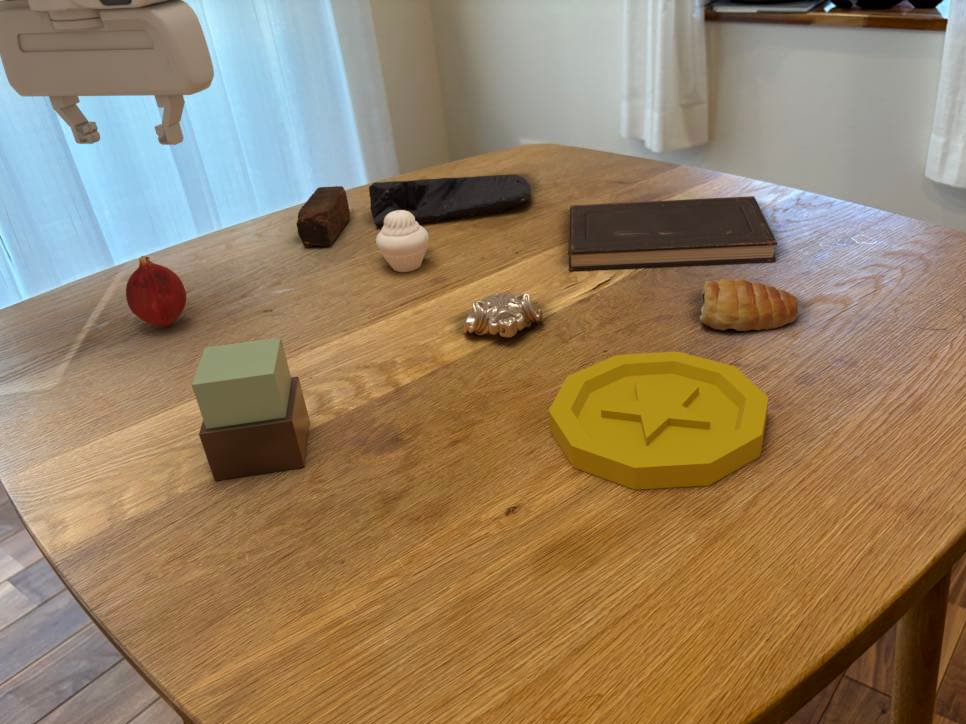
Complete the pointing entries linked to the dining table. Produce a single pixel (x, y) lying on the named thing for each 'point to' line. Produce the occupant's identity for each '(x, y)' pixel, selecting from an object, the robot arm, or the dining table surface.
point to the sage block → (242, 383)
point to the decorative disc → (659, 420)
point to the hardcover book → (669, 234)
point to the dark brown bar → (323, 216)
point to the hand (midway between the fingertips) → (130, 143)
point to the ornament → (501, 315)
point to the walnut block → (260, 442)
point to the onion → (155, 294)
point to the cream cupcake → (402, 241)
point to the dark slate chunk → (448, 197)
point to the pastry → (746, 305)
